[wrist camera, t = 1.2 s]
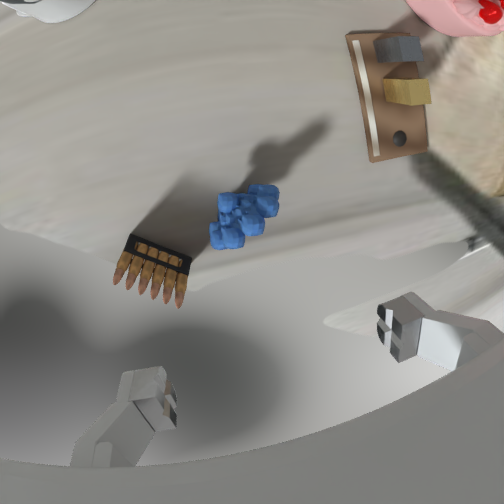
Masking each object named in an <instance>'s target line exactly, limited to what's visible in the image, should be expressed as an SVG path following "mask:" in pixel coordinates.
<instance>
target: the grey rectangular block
mask: <svg viewBox="0 0 504 504" xmlns="http://www.w3.org/2000/svg"><path fill="white" fill-rule="evenodd" d="M373 45H374V49H375V53H376V58H377V62H378V63H385V62H405V61H424V59H423V54H422V50H421V45H420V41H419V37H415V36H396V37H390V38H385V39H380V40H375V41H373Z"/></svg>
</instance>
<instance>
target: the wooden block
mask: <svg viewBox="0 0 504 504" xmlns="http://www.w3.org/2000/svg"><path fill="white" fill-rule="evenodd" d="M382 80H383V85H384V91H385V97H386V101H388V102H394V103H400V104H405V105H411V106H413V105H423V104H431V96H430V89H429V83H428V79H424V78H406V77H399V78H386V79H382Z"/></svg>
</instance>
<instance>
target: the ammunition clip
mask: <svg viewBox="0 0 504 504" xmlns="http://www.w3.org/2000/svg"><path fill="white" fill-rule="evenodd" d="M133 255H134V257H133ZM132 257H133V259H132ZM144 259H145V261H144ZM191 260H192V259H191V257H188V256H186V255H183V254H181V253H178V252H175V251H173V250H170V249H168V248H165V247H163V246H160V245H158V244H155V243H153V242H150V241H148V240H145V239H143V238H140V237H138V236H135V235H133V234H130V235H129V238H128V240H127V243H126V245H125V248H124V250H123V252H122V254H121V257H120V259H119V261H118V263H117V268H116V271H115V274H114V277H113V284H114V285H116V284H118V283H119V282H120V280H121V278H122V277H123V275H124V273H125V271H126V270H127V268H128V266H129V264H130V267H129V272H128V276H127V279H126V289H127V290H129V289H130V288H131V287H132V286H133V284H134V282H135V280H136V277H137V276H138V274H139V273H140V270H141V268H142V270H141V274H140V282H139V287H138V290H139V294H140V295H141V294H143V293H144V291H145V290H146V288H147V285H148V283H149V280H150V279H151V277H152V286H151V298H152V299H153V300H154V299H155V298H156V296H157V295H158V293H159V290H160V287H161V284H162V282H163V279H164V289H163V301H164V303H165V304H167V303H168V302H169V300H170V298H171V294H172V290H173V288H174V286H175V303H176V307H177V308H178V309H179V308H180V307H181V305H182V303H183V299H184V294H185V291H186V287H187V278H188V275H189V270H190V265H191ZM143 262H144V264H143ZM155 263H156V265H155ZM154 267H155V268H154ZM166 267H167V269H166ZM165 271H166V273H165ZM152 273H153V276H152ZM164 277H165V278H164ZM175 281H176V284H175Z"/></svg>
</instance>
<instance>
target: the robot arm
mask: <svg viewBox="0 0 504 504" xmlns="http://www.w3.org/2000/svg"><path fill="white" fill-rule="evenodd" d="M94 1H95V0H0V2H2V3H3V4H5V5H7V6H9V7H11V8H13V9H16V10H17V15H19V16H21V17H30V16H32V17H35V18H37V19H38V20H40V21H42V22H46V23H57V22H61V21H65V20H68V19H70V18H72V17H74V16H76V15H78V14H79V13H81V12H82V11H84V10H85V9H87V8H88V7H89V6H90V5H91V4H92V3H93V2H94ZM377 314H378V315H379V317H380V319H379V321H378V322H377V332H378V336H379V338H380V340H381V342H382V343H383V345H385V346H387V347H390V353H391V355H392V356H393V357H394V358H395V359H396V361H397V362H398V363H400V362H402V361H404V360H406V359H409V358H411V357H413V356H416V355H417V356H418V357H420V358H422V359H425V360H427V361H429V362H432V363H434V364H436V365H439V366H441V367H443V368H446V369H448V370H450V371H452V372H450V373H448V374H447V375H445V376H443V377H441V378H439V379H438V380H436V381H434V382H432V383H431V384H429V385H427V386H425V387H423V388H421V389H419V390H417V391H415V392H413V393H411V394H409V395H407V396H405V397H403V398H401V399H399V400H397V401H394V402H392V403H390V404H388V405H385V406H383V407H381V408H379V409H376V410H374V411H372V412H369V413H367V414H364V415H362V416H360V417H357V418H355V419H352V420H350V421H347V422H344V423H341V424H339V425H336V426H333V427H330V428H327V429H325V430H322V431H319V432H315V433H313V434H309V435H306V436H303V437H300V438H297V439H293V440H290V441H286V442H282V443H279V444H275V445H271V446H267V447H263V448H259V449H255V450H250V451H246V452H241V453H236V454H231V455H226V456H221V457H215V458H209V459H203V460H196V461H189V462H182V463H173V464H163V465H151V466H135V465H136V464H137V462H138V461H139V459H140V457H141V456H142V454H143V453H144V451H145V449H146V448H147V446H148V445H149V443H150V441H151V440H152V438H153V436H154V435H155V432H158V431H164V430H170V429H175V428H176V427H177V414H176V413H175V411H174V408H175V407H176V406H177V397H176V392H175V390H174V387H173V385H172V383H171V382H170V381H168V380H166V372H165V371H164V369H163V367H161V366H158V367H152V368H146V369H140V370H134V371H128V372H124V373H123V374H122V377H121V381H120V385H119V390H118V394H117V399H116V403H113V404H111V405H110V406H109V408H108V409H107V410H106V411H105V412H104V413H103V414H102V415H101V416H100V417H99V418H98V419H97V420H96V421H95V422H94V423H93V424H92V426H90V427H89V429H88V430H87V431H86V432H85V433H84V434H83V435H82V436H81V437H80V438H79V439H78V440H77V441H76V442H75V446H74V450H73V455H72V459H71V463H70V466H56V465H45V464H35V463H28V462H21V461H15V460H9V459H4V458H0V504H504V333H503V332H501V331H500V330H499V329H498V328H497V327H495V326H494V325H493V324H492V323H490V322H489V321H486V320H482V319H477V318H473V317H468V316H464V315H459V314H455V313H450V312H446V311H442V310H437V311H435V310H434V309H433V308H432V307H431V306H429V305H428V304H427V303H426V302H425V301H423V300H422V299H421V298H420V297H419V296H417V295H416V294H415V293H414V292H409V293H406V294H404V295H402V296H400V297H398V298H395V299H392V300H390V301H387V302H385V303H382V304H379V305H378V308H377Z"/></svg>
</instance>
